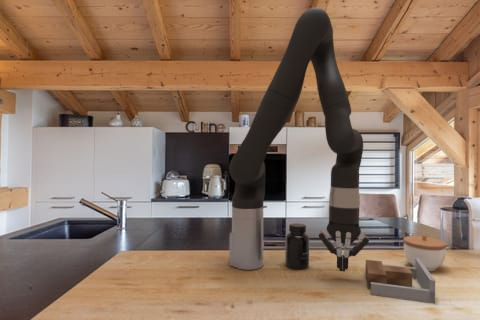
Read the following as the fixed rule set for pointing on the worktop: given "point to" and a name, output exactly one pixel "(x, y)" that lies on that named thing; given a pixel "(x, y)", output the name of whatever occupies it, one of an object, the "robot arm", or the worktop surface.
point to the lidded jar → (425, 251)
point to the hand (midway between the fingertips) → (342, 270)
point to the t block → (387, 274)
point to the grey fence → (410, 293)
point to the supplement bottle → (297, 247)
